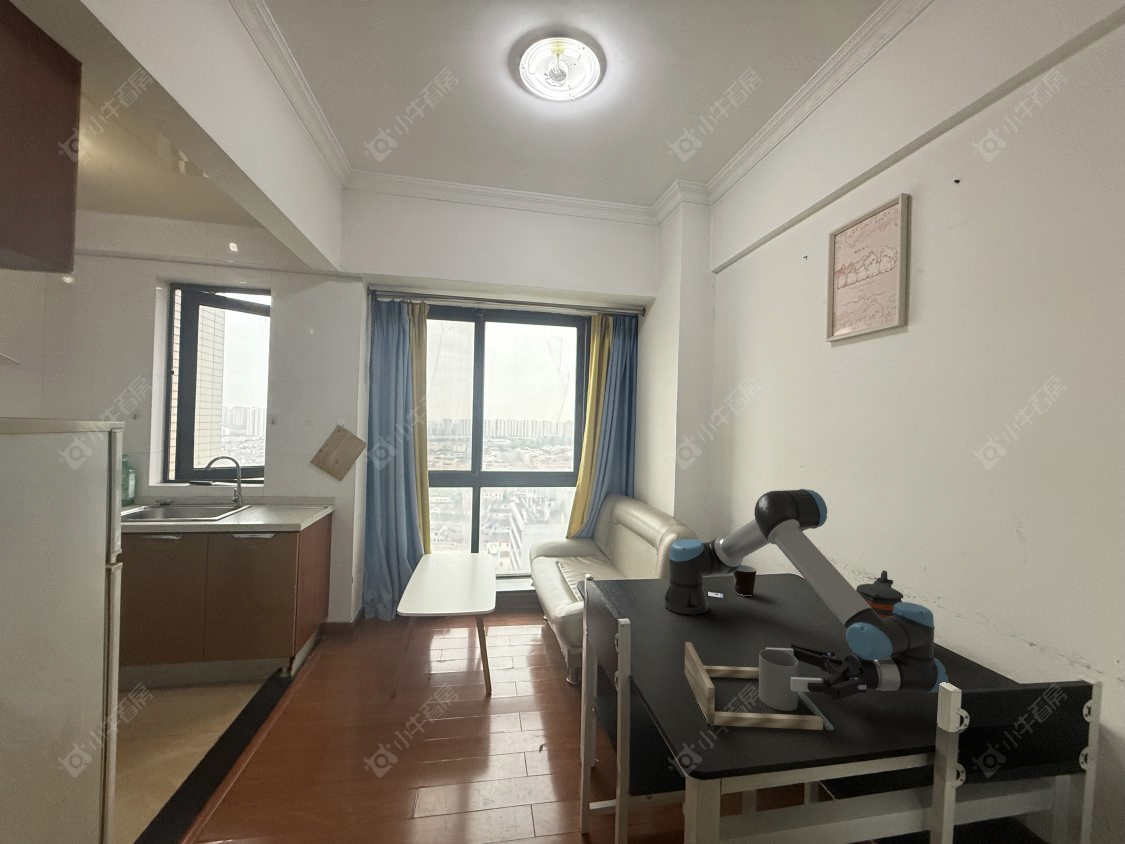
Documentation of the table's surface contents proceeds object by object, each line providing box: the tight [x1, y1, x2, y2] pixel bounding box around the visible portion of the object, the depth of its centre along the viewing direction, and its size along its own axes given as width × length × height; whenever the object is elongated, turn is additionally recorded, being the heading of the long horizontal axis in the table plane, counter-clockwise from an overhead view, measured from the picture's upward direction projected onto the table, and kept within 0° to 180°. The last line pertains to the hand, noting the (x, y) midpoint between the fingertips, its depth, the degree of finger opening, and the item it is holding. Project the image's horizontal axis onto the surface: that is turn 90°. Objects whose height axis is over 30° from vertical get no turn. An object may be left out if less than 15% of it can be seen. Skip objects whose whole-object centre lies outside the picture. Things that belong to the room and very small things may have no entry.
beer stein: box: [855, 570, 904, 618], centre depth 140 cm, size 19×15×20 cm
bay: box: [684, 641, 835, 731], centre depth 108 cm, size 27×21×8 cm
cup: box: [758, 648, 799, 712], centre depth 108 cm, size 8×8×10 cm
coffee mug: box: [732, 564, 757, 596], centre depth 179 cm, size 12×9×10 cm
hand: (778, 667), depth 108 cm, fingers open, 13 cm apart
